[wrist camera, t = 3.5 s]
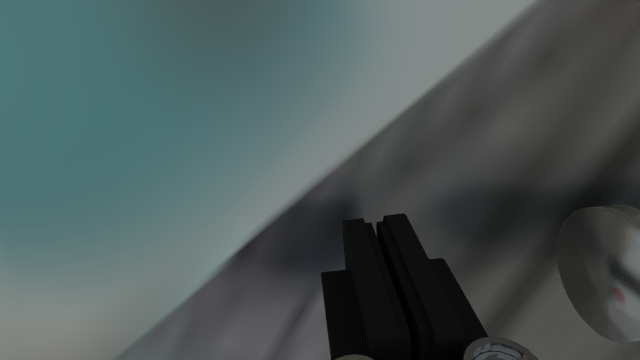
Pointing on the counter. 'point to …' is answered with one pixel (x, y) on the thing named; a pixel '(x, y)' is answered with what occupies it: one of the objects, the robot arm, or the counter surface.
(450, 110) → the counter surface
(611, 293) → the pin
